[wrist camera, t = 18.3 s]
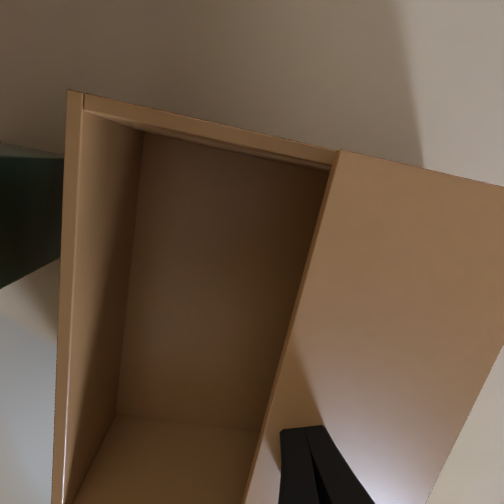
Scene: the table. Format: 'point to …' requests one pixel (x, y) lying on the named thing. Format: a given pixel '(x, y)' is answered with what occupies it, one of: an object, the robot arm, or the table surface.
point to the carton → (173, 299)
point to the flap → (390, 325)
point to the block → (29, 210)
